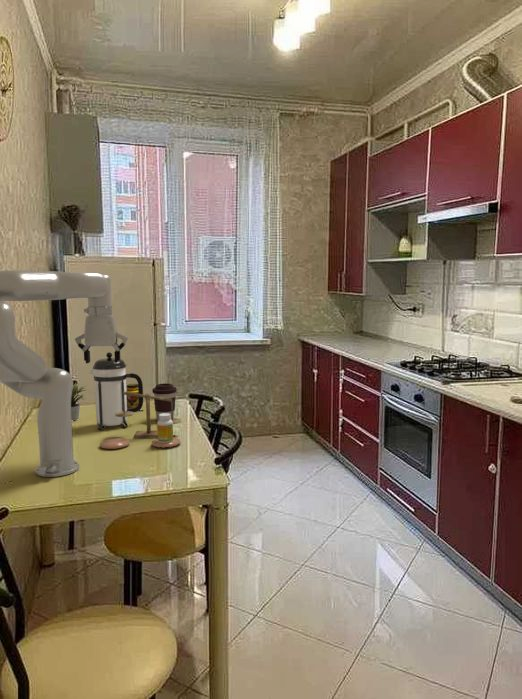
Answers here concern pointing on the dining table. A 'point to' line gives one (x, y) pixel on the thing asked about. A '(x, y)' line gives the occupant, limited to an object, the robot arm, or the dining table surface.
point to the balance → (146, 433)
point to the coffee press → (112, 391)
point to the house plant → (74, 406)
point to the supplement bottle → (165, 428)
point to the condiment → (132, 400)
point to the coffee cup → (164, 392)
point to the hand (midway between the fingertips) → (102, 362)
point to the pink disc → (114, 443)
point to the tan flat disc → (163, 445)
